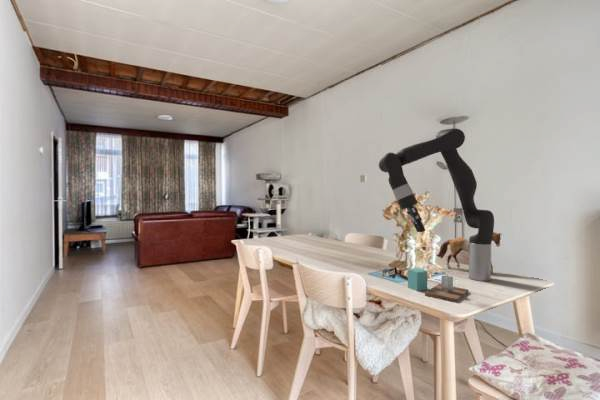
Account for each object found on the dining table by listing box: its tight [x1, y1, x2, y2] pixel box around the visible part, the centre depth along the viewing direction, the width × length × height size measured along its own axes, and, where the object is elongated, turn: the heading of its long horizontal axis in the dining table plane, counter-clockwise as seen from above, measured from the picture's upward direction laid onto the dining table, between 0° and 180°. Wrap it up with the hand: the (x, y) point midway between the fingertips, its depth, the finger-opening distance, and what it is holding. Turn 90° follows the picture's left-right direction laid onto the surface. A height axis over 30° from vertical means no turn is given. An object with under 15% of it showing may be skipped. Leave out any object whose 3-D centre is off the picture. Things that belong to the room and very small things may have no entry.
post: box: [441, 274, 454, 293], centre depth 131 cm, size 3×3×6 cm
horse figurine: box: [436, 232, 503, 274], centre depth 170 cm, size 31×8×21 cm, turn 61°
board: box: [424, 283, 469, 303], centre depth 131 cm, size 16×12×1 cm
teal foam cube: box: [407, 267, 428, 292], centre depth 138 cm, size 6×6×8 cm
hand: (421, 231), depth 134 cm, fingers open, 8 cm apart
